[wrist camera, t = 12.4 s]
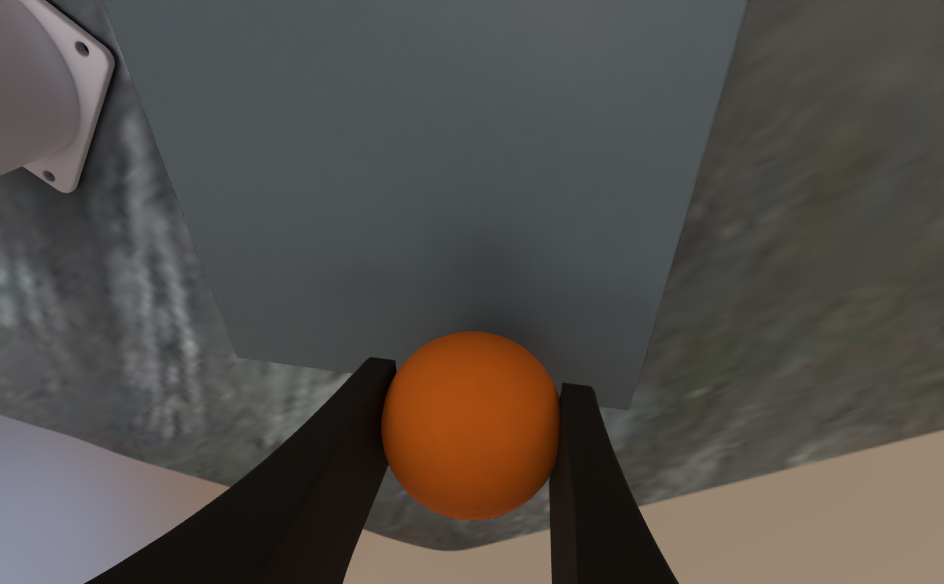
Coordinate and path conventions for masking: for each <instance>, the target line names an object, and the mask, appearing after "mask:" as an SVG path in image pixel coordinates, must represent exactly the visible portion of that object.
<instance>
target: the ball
mask: <svg viewBox="0 0 944 584" xmlns="http://www.w3.org/2000/svg"><path fill="white" fill-rule="evenodd" d="M559 425H560V398H559V394H558V392H557V390H556V387H555V385H554V383H553V381H552V379H551V377H550V376H549V374H548V372H547V371H546V370H545V368H544V367H543V365H542V364H541V363H540V362H539V361H538V360H537V359H536V358H535V357H534V356H533V355H532V354H531V353H530V352H529V351H527V350H526V349H525V348H523V347H522V346H521V345H519V344H517V343H515V342H514V341H512V340H509V339H507V338H505V337H502V336H499V335H495V334H491V333H486V332H477V331H466V332H457V333H453V334H449V335H446V336H443V337H440V338H437V339H435V340H433V341H431V342H429V343H428V344H426V345H424V346H423V347H421V348H420V349H418V350H417V351H416V352H415V353H414V354H413V355H412V356H410V357H409V358H408V359H407V360H406V361H405V362H404V364H403V365H402V366H401V368H400V369H399V370H398V372H397V373H396V375H395V376H394V378H393V380H392V382H391V384H390V386H389V389H388V392H387V395H386V398H385V402H384V406H383V412H382V419H381V436H382V442H383V447H384V452H385V455H386V458H387V460H388V463H389V466H390V468H391V470H392V471H393V473H394V475H395V477H396V478H397V480H398V482H399V483H400V484H401V485H402V487H403V488H404V489H405V490H406V491H407V492H408V493H409V494H410V495H411V496H412V497H413V498H414V499H415V500H416V501H418V502H419V503H421V504H422V505H423V506H425V507H426V508H428V509H430V510H432V511H434V512H436V513H438V514H441V515H443V516H446V517H450V518H454V519H460V520H483V519H490V518H495V517H498V516H501V515H504V514H506V513H509V512H511V511H513V510H515V509H517V508H518V507H520V506H521V505H523V504H524V503H526V502H527V501H528V500H530V499H531V498H532V497H533V496H534V495H535V494H536V493H537V492H538V491H539V490H540V489H541V488H542V486H543V485H544V484H545V482H546V481H547V479H548V478H549V476H550V475H551V473H552V471H553V469H554V466H555V464H556V458H557V451H558V439H559Z"/></svg>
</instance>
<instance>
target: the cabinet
mask: <svg viewBox="0 0 944 584" xmlns="http://www.w3.org/2000/svg"><path fill="white" fill-rule="evenodd" d="M102 1H103V3H104V6H105V9H106V11H107V14H108V17H109V19H110V22H111V25H112V27H113V30H114V33H115V35H116V38H117V41H118V43H119V46H120V49H121V51H122V54H123V56H124V59H125V62H126V64H127V67H128V70H129V72H130V75H131V78H132V80H133V83H134V86H135V88H136V91H137V94H138V96H139V99H140V102H141V104H142V107H143V110H144V112H145V115H146V118H147V120H148V123H149V125H150V128H151V131H152V133H153V136H154V139H155V141H156V144H157V147H158V149H159V152H160V155H161V157H162V160H163V163H164V165H165V168H166V171H167V173H168V176H169V179H170V181H171V184H172V186H173V189H174V192H175V194H176V197H177V200H178V202H179V205H180V208H181V210H182V213H183V216H184V218H185V221H186V224H187V226H188V229H189V232H190V234H191V237H192V240H193V242H194V245H195V248H196V250H197V253H198V255H199V258H200V261H201V263H202V266H203V269H204V271H205V274H206V277H207V279H208V282H209V285H210V287H211V290H212V293H213V295H214V298H215V301H216V303H217V306H218V309H219V311H220V314H221V316H222V319H223V322H224V324H225V327H226V330H227V332H228V335H229V338H230V340H231V343H232V346H233V348H234V351H235V354H236V356H237V357H238V358H245V359H252V360H260V361H267V362H274V363H282V364H289V365H297V366H304V367H312V368H319V369H326V370H334V371H341V372H349V373H354V372H355V371H356V370H357V369H358V368H359V367H360V366H361V365H362V364H363V363H364V361H365V360H366V359H368V358H369V357H376V358H383V359H391V360H395V361H396V370H397V372H398V370H399V369H400V368H401V366H402V365H403V364H404V362H405V361H406V360H407V359H408V358H409V357H410V356H412V355H413V354H414V353H415V352H416V351H417V350H418V349H420V348H421V347H423V346H424V345H426V344H428V343H429V342H431V341H433V340H435V339H437V338H440V337H443V336H446V335H449V334H453V333H457V332H466V331H477V332H486V333H491V334H495V335H499V336H502V337H505V338H507V339H509V340H512V341H514V342H515V343H517V344H519V345H521V346H522V347H523V348H525V349H526V350H527V351H529V352H530V353H531V354H532V355H533V356H534V357H535V358H536V359H537V360H538V361H539V362H540V363H541V364H542V365H543V367H544V368H545V370H546V371H547V372H548V374H549V376H550V377H551V379H552V381H553V383H554V385H555V387H556V390H557V392H558V394H559V398H560V394H561V388H562V383H570V384H578V385H585V386H591V387H592V388H593V389H594V390H595V394H596V398H597V402H598V406H600V407H608V408H615V409H622V410H629V408H630V406H631V402H632V399H633V395H634V392H635V389H636V385H637V382H638V378H639V375H640V372H641V368H642V365H643V361H644V358H645V355H646V351H647V348H648V344H649V341H650V338H651V334H652V331H653V327H654V324H655V321H656V317H657V314H658V310H659V307H660V304H661V300H662V297H663V293H664V290H665V287H666V283H667V280H668V276H669V273H670V269H671V266H672V263H673V259H674V256H675V252H676V249H677V246H678V242H679V239H680V235H681V232H682V229H683V225H684V222H685V218H686V215H687V212H688V208H689V205H690V201H691V198H692V195H693V191H694V188H695V184H696V181H697V178H698V174H699V171H700V167H701V164H702V161H703V157H704V154H705V150H706V147H707V144H708V140H709V137H710V133H711V130H712V127H713V123H714V120H715V116H716V113H717V110H718V106H719V103H720V99H721V96H722V92H723V89H724V86H725V82H726V79H727V75H728V72H729V69H730V65H731V62H732V58H733V55H734V52H735V48H736V45H737V41H738V38H739V35H740V31H741V28H742V24H743V21H744V18H745V14H746V11H747V7H748V4H749V1H750V0H102Z"/></svg>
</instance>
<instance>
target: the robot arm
mask: <svg viewBox="0 0 944 584" xmlns="http://www.w3.org/2000/svg"><path fill="white" fill-rule="evenodd" d="M84 44H85V45H86V46H87V48H88V50H89V53H88V51H87V50H86V49H85V47H84ZM114 67H115V61H114V58H113V55H112V54H111V52H110V51H109V50H108V49H107V48H106V47H105V46H104V45H103V44H102V43H100V42H99V41H98V40H96V39H95V38H94V37H92V36H91V35H90V34H89V33H87V32H86V31H85V30H83V29H82V28H81V27H80V26H78V25H77V24H76V23H74V22H73V21H72V20H70V19H69V18H68V17H67V16H65V15H64V14H63V13H61V12H60V11H59V10H58V9H56V8H55V7H54V6H52V5H51V4H50V3H48V2H47V1H46V0H0V175H3V174H5V173H8V172H10V171H12V170H15V169H17V168H19V167H22V166H23V167H24V168H26V169H27V170H29V171H30V172H32V173H33V174H35V175H36V176H38V177H39V178H41V179H42V180H44V181H45V182H47V183H48V184H50V185H51V186H53V187H54V188H56V189H57V190H59V191H61V192H63V193H70V192H72V191H74V190H75V189H76V188H77V185H78V182H79V179H80V176H81V172H82V169H83V166H84V163H85V160H86V156H87V153H88V150H89V147H90V144H91V140H92V137H93V134H94V131H95V128H96V124H97V121H98V118H99V115H100V111H101V108H102V105H103V102H104V99H105V95H106V92H107V89H108V86H109V83H110V79H111V76H112V73H113V70H114ZM396 373H397V370H396V361H395V360H391V359H383V358H376V357H369V358H368V359H366V360H365V361H364V363H363V364H362V365H361V366H360V367H359V368H358V369H357V370H356V371H355V372H354V373H353V375H352V376H351V377H350V378H349V379H348V380H347V381H346V382H345V383H344V384H343V385H342V386H341V387H340V388H339V389H338V390H337V392H336V393H335V394H334V395H333V396H332V397H331V398H330V399H329V400H328V401H327V402H326V403H325V404H324V405H323V406H322V407H321V408H320V409H319V410H318V411H317V412H316V413H315V414H314V415H313V416H312V417H311V418H310V419H309V420H308V421H307V422H306V423H305V424H304V425H303V426H301V427H300V428H299V429H298V430H297V431H296V432H295V433H294V434H293V435H292V436H291V437H290V438H288V439H287V440H286V441H285V442H284V443H283V444H282V445H281V446H280V447H278V448H277V449H276V450H275V451H274V452H273V453H272V454H271V455H270V456H268V457H267V458H266V459H265V460H264V461H263V462H261V463H260V464H259V465H258V466H257V467H255V468H254V469H253V470H252V471H251V472H249V473H248V474H247V475H246V476H244V477H243V478H242V479H241V480H239V481H238V482H237V483H235V484H234V485H233V486H232V487H230V488H229V489H228V490H227V491H225V492H224V493H223V494H221V495H220V496H219V497H217V498H216V499H214V500H213V501H212V502H210V503H209V504H208V505H206V506H205V507H203V508H202V509H201V510H200V511H198V512H196V513H195V514H194V515H192V516H191V517H190V518H188V519H187V520H185V521H184V522H182V523H181V524H179V525H178V526H176V527H175V528H174V529H172V530H171V531H169V532H168V533H166V534H164V535H163V536H162V537H160V538H158V539H157V540H155V541H153V542H152V543H150V544H149V545H147V546H145V547H144V548H142V549H141V550H139V551H138V552H136V553H134V554H133V555H131V556H130V557H128V558H126V559H125V560H123V561H122V562H120V563H119V564H117V565H115V566H114V567H112V568H110V569H109V570H107V571H105V572H104V573H102V574H100V575H99V576H97V577H95V578H93V579H92V580H90V581H88V582H86V583H84V584H343V581H344V577H345V574H346V571H347V568H348V566H349V563H350V560H351V557H352V554H353V552H354V549H355V547H356V544H357V542H358V539H359V537H360V534H361V532H362V529H363V527H364V524H365V522H366V519H367V517H368V515H369V512H370V510H371V507H372V505H373V502H374V500H375V497H376V495H377V492H378V490H379V487H380V485H381V482H382V480H383V477H384V475H385V472H386V470H387V467H388V465H389V463H388V460H387V458H386V455H385V452H384V447H383V442H382V436H381V419H382V412H383V406H384V402H385V398H386V395H387V392H388V389H389V386H390V384H391V382H392V380H393V378H394V376H395V375H396ZM549 498H550V534H551V563H552V564H551V565H552V566H551V568H552V584H679V583H678V581H677V580H676V578H675V576H674V574H673V573H672V571H671V569H670V567H669V566H668V564H667V562H666V560H665V559H664V557H663V555H662V553H661V551H660V549H659V548H658V546H657V544H656V542H655V540H654V538H653V536H652V534H651V532H650V530H649V529H648V526H647V524H646V522H645V520H644V519H643V516H642V514H641V512H640V510H639V508H638V506H637V504H636V502H635V500H634V498H633V495H632V493H631V491H630V489H629V486H628V484H627V482H626V480H625V477H624V475H623V472H622V470H621V468H620V465H619V463H618V460H617V458H616V456H615V453H614V450H613V448H612V445H611V443H610V440H609V437H608V434H607V431H606V428H605V426H604V423H603V419H602V416H601V413H600V410H599V406H598V402H597V398H596V394H595V390H594V389H593V388H592V387H591V386H585V385H578V384H570V383H562V388H561V394H560V425H559V439H558V451H557V458H556V464H555V466H554V469H553V471H552V473H551V475H550V480H549Z"/></svg>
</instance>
